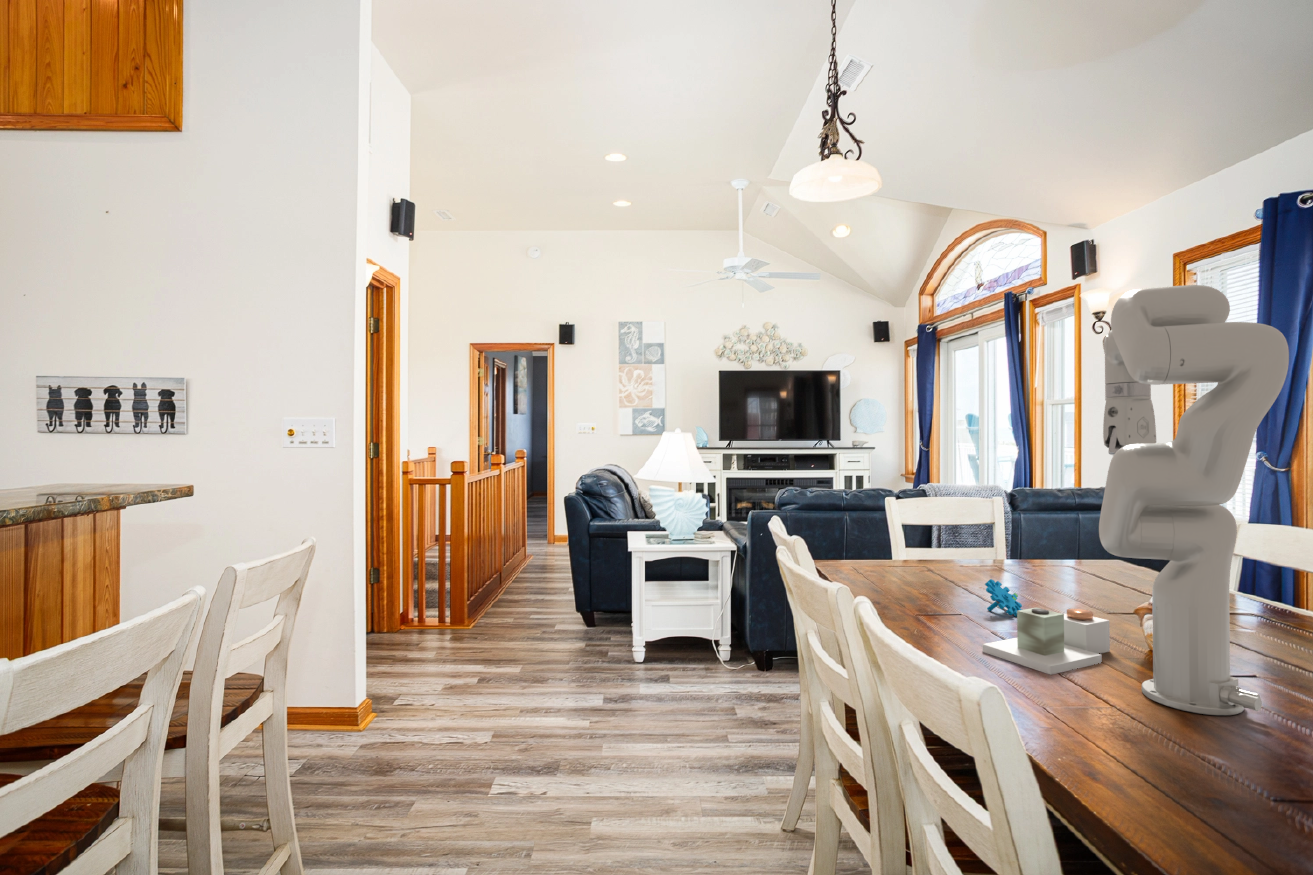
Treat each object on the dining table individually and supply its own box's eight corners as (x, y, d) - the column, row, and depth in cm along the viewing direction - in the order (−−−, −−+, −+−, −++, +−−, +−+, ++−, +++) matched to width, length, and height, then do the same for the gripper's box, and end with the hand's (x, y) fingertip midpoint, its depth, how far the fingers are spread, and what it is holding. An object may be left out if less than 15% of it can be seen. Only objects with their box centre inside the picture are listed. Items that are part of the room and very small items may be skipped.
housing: (1064, 651, 125) (1063, 611, 125) (1044, 655, 123) (1044, 615, 123) (1037, 643, 130) (1036, 605, 130) (1017, 647, 128) (1017, 608, 128)
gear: (1009, 613, 151) (981, 577, 158) (990, 628, 154) (964, 591, 161) (1034, 613, 157) (1007, 577, 164) (1016, 626, 160) (989, 591, 167)
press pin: (1098, 643, 130) (1098, 612, 130) (1083, 646, 128) (1083, 615, 128) (1076, 637, 134) (1076, 607, 134) (1061, 640, 132) (1061, 610, 132)
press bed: (1128, 656, 126) (1128, 624, 126) (1050, 674, 117) (1050, 640, 117) (1057, 636, 139) (1057, 607, 139) (982, 651, 130) (982, 620, 130)
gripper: (1123, 390, 128) (1125, 486, 128) (1170, 392, 134) (1171, 483, 134) (1084, 393, 135) (1086, 484, 135) (1131, 394, 141) (1132, 481, 141)
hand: (1128, 483), depth 134 cm, fingers closed
